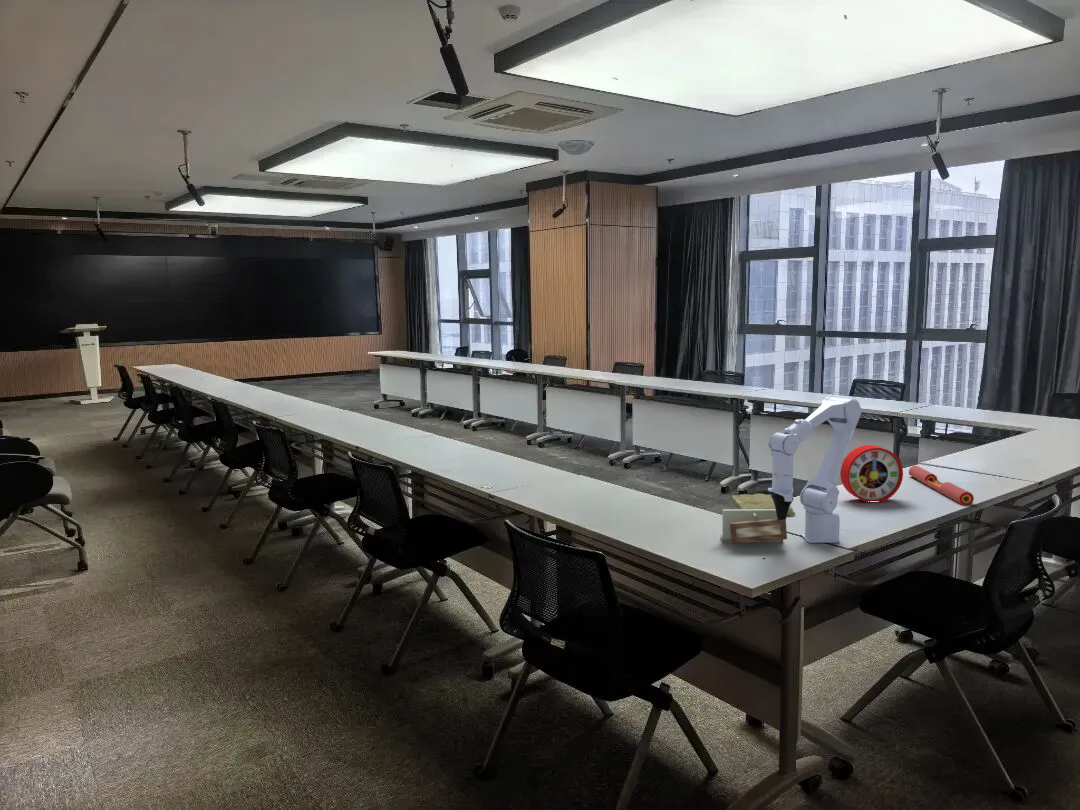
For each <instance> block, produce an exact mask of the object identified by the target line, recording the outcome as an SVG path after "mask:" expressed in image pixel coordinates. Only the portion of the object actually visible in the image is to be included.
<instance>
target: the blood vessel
mask: <svg viewBox="0 0 1080 810" xmlns="http://www.w3.org/2000/svg"><path fill="white" fill-rule="evenodd" d="M908 475H909V476H910V475H911V476H912V477H914V478H916V479H917V480H916V479H915V480H916V481H918V480H919V481H918V482H920V481H921V482H920V483H922V484H923V483H924V485H925V484H926V485H925V486H927V487H929V488H931V489H932V488H933V490H934V489H935V490H934V491H936V492H938V493H940V494H941V495H943V494H944V496H945V497H947V498H949V499H951V500H952V499H953V501H954V502H957V503H958V504H960V505H962V506H970V505H972V504H973V503H974V499H975V497H974V494H973V493H971V492H969V490H965V489H964V488H962V487H959V486H958V485H956V484H953V483H952V482H949V481H945V482H941V481H939V480H938V477H937V475H936V474H934V473H932V472H930V471H928V470H926V469H924V468H923V467H920V466H918V465H912V466H911V467H909V469H908ZM911 476H910V477H911ZM912 477H911V478H912ZM914 478H913V479H914ZM963 504H964V505H963Z"/></svg>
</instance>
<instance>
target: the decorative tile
mask: <svg viewBox="0 0 1080 810" xmlns="http://www.w3.org/2000/svg"><path fill="white" fill-rule="evenodd" d="M731 502H732V503H733V505H734V506H735V507H736V508H737V509H775V504H774V501H773V499H772V497H771V494H764V493H754V494H748V493H747V494H739V495H737V494H736V495H735V494H733V495H731ZM787 515H795V516H796V512H795V511H794V509H793V506H790V507H789V510H788V513H787Z"/></svg>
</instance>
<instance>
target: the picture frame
mask: <svg viewBox="0 0 1080 810" xmlns="http://www.w3.org/2000/svg"><path fill="white" fill-rule="evenodd" d="M730 536H731V542H730V543H731V544H744V543H760V542H759V541H771V540H783V541H784V540H788V533H787V518H786V519H785V520H778V519H766V520H754V521H742V522H730Z"/></svg>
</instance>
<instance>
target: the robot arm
mask: <svg viewBox="0 0 1080 810" xmlns="http://www.w3.org/2000/svg"><path fill="white" fill-rule="evenodd" d="M862 412H863V411H862V407H861V405H860V402H859V401H858V399H855V398H843V397H835V396H830V395H829V396H827V397H825V399H823V400H821V402H820V406H819V407H818V408H816V409H815V410H814V411H813V412H812V413H811V414H809V416H807V417H806V418H805V419H803V418H799V419H798V418H797V419H795V420H793V421H794V423H792V424H790V425H789V426H788V427H786V428H784V429H783V430H782V431H781V432H775V433H773V434H772V435H771V437H770V438H769V441H768V443H767V444H768V448H769V451H770V456H771V457H772V469H771V470H772V473H771V474H772V478H771V487H768V488H767V491H768V492H769V493H772V494H770V495H771V497H772V499H773V501H774V504H775V509H776V514H777V518H778V520H785V519H786V520H787V517H788V516H787V513H788V510H789V507H791V504H792V503H793V502H794V497H793V493H794V488H793V485H794V454H795V453H797V451H798V450H799V446H801V443H802V442H804V441H805V440H806V439H808V438H809V437H810V436H812V435H813V429H815V428H817V427H818V426H819V425H821V424H823V423H825V422H826V421H828V423H829V424H830V426H832V428H833V430H834V431H833V433H832V435H831V438H830V440H829V442H828V446H827V448H826V451H825V453H824V456H823V458H822V461H821V463H820V466H819V469H818V472H817V474H816V476H815V477H814V478H811V479H810V480H807V482H806V485H805V486H804V488H802V490H801V491H800V495H799V501H800V503H801V505H802V506H803V509H804V510H805V517H804V518H805V519H804V520H805V522H804V523H805V525H804V532H801V533H800V535H801V537H802V538H803V539H804V540H805V541H806V542H807V543H809V544H810V543H813V544H815V543H816V544H818V543H822V544H823V543H830V544H832V543H841V541H840V523H841V522H840V514H839V512H838V511H837V510H835V509H836V508H837V507H838V498H839V495H840V491H839V488H838V487H837V486H836V484H835V482H836V479H837V477H838V475H839V472H840V471H841V466H842V463H843V461H844V459H845V457H846V454H847V452H848V448H849V446H850V443H851V441H852V438H853V436H854V433H855V430H856V427H857V425H858V422H859V420H860V418H861V415H862Z"/></svg>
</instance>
